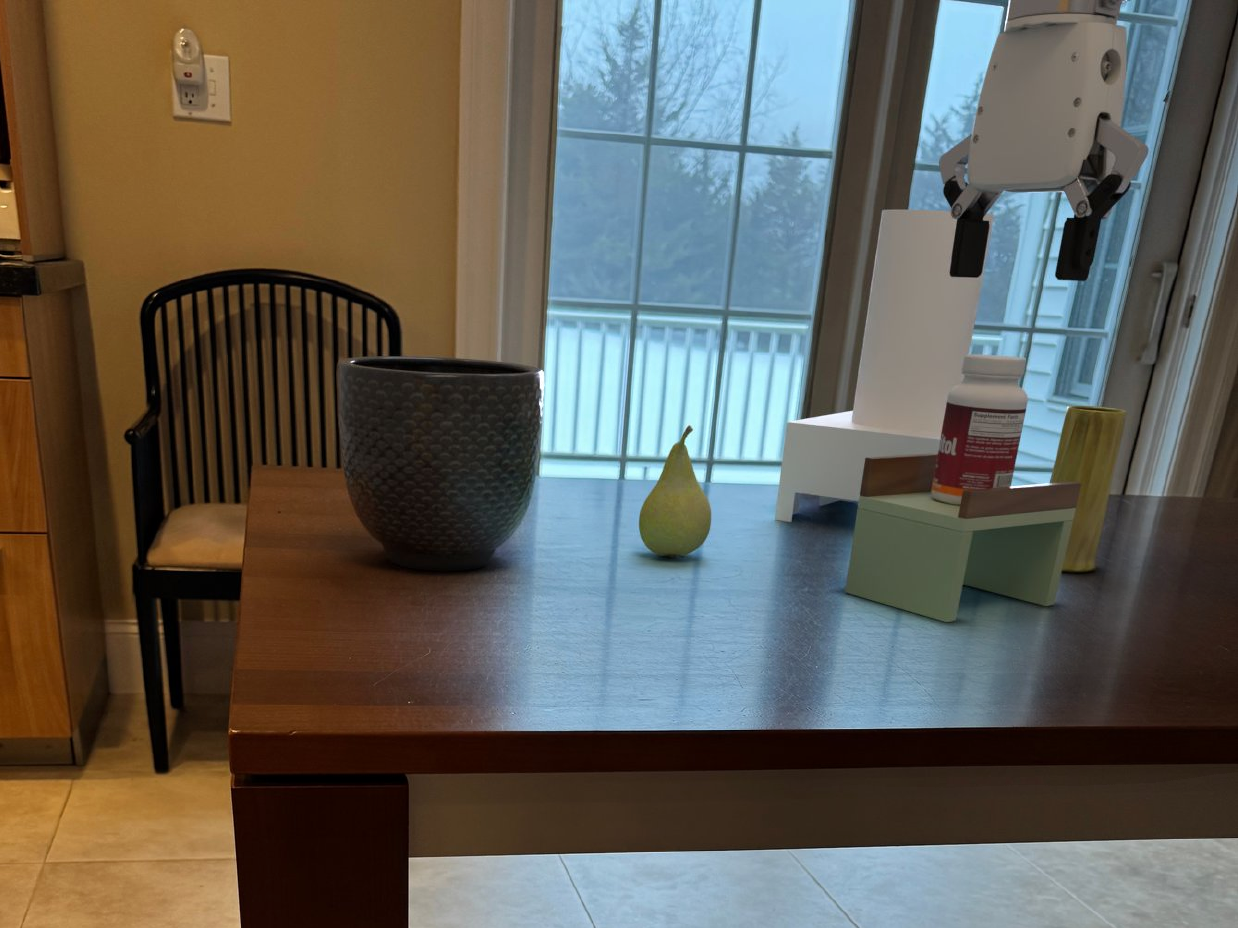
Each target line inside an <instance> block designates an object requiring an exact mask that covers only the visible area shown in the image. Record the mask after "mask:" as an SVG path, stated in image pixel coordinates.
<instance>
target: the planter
mask: <svg viewBox="0 0 1238 928" xmlns="http://www.w3.org/2000/svg"><path fill="white" fill-rule="evenodd" d="M336 395H337V396H336V398H337V399H336V400H337V401H336V403H337V422H338V433H339V445H340V453H341V461H342V467H343V468H342V469H343V475H344V480H345V481H344V482H345V485H346V490H347V494H348V497H349V500H350V503H351V505H352V508H353V510H354V513H355V515H356V517H357V518H358V520H359V522H360V523H361V526H363V527H364V529H365V530H366V532H368V534H369V535H370V536H371V537H372V538H373V539H374V540H376V541H377V542H378V543H380V545H381V546H382V547H383V550H384V552H385V555H386V556H387V558H388V559H389V561H390V562H392V563H393V564H395V565H398V566H401V567H404V568H407V569H413V570H419V571H428V572H462V571H463V572H464V571H472V570H476V569H480V568H483V567H485V566H487V565H488V564H490V563H491V561H492V559H493V557H494V555H495V552H496V550H497V549H498V548H499V547H501V546H502V545H503V544H505V543H506V542H507V541H508V540H509V539H510V538H511V537H512V536H513V535H514V534H515V532H516V531H517V530H518V529H519V527H520V526H521V525H522V522H523V520H524V518H525V517H526V514H527V511H528V509H529V506H530V503H531V500H532V496H533V492H534V488H535V485H536V478H537V471H538V464H539V459H540V450H541V442H542V441H541V440H542V431H543V421H544V419H543V418H544V401H545V399H544V398H545V373H544V371H543V369H541V368H540V367H536V366H532V365H527V364H519V363H513V362H506V361H505V362H504V361H495V360H485V359H484V360H483V359H473V358H459V357H458V358H456V357H438V356H437V357H436V356H406V355H405V356H404V355H403V356H401V355H395V356H394V355H391V356H389V355H387V356H386V355H384V356H383V355H382V356H381V355H380V356H358V357H357V356H356V357H349V358H348V357H347V358H342V359H339V360H338V362H337V364H336Z"/></svg>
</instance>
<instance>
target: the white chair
mask: <svg viewBox="0 0 1238 928" xmlns="http://www.w3.org/2000/svg"><path fill="white" fill-rule="evenodd" d="M994 219H995V214H991V213H986V215H985V216H984V217H983V220H984V221H989V225H990V227H989V233H988V239H987V245H986V251H985V258H984V264H983V270H982V274H981V275H980V276H979V277H978V278H968V277H951V276H950V266H951V256H952V250H953V243H954V237H955V230H956V224H957V219H953V218H952V216H951V210H933V209H882V211H881V217H880V224H879V230H878V237H877V245H876V251H875V259H874V265H873V271H872V278H871V286H870V292H869V299H868V306H867V313H866V320H865V327H864V332H863V339H862V347H861V353H860V361H859V367H858V374H857V381H856V388H855V395H854V401H853V409H852V410H849V411H844V412H836V413H830V414H825V415H820V416H814V417H808V418H803V419H796V420H790V421H786V426H785V432H784V433H785V434H784V441H783V442H784V443H783V449H782V457H781V466H780V473H779V482H778V490H777V499H776V507H775V508H776V509H775V515H774V520H775V521H781V522H788V523H792V520H793V519H792V518H793V515H795V514H798V513H800V508H801V507H800V506H801V499H802V494H803V495H804V494H806V495H811V496H818V497H819V498H818V505H817V506H818V507H821V506H824V505H828V504H830V503H834V502H838V501H845V502H852V503H856V502H859V496H860V490H861V483H862V476H863V470H864V463H865V458H866V457H882V456H899V455H917V454H934V453H938V450H939V445H940V439H941V432H942V427H943V421H944V415H945V410H946V403H947V398H948V394H949V392H950V390H951V389H952V388H953V387H954V386H956V385H957V384H960V383H961V382H962V381H963V379H964V374H962V367H963V362H964V357H965V355H967V354H970V351H971V345H972V340H973V334H974V329H975V323H976V318H977V312H978V307H979V301H980V296H981V291H982V285H983V279H984V273H985V268H986V262H987V257H988V253H989V251H988V250H989V246H990V240H991V235H992V229H993V224H994Z"/></svg>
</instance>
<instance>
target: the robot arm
mask: <svg viewBox="0 0 1238 928" xmlns="http://www.w3.org/2000/svg"><path fill="white" fill-rule="evenodd" d="M1129 1H1131V0H1008V6H1007V10H1006V18H1005V23H1004V29H1003V32H1002V33H999V34H997V37H996V40H995V43H994V46H993V49H992V52H991V54H990V59H989V62H988V65H987V67H986V72H985V75H984V79H983V82H982V86H981V90H980V95H979V99H978V102H977V107H976V112H975V117H974V121H973V126H972V132H971V133H970V134H969V135H967V137H966V138H964V139H963V140H961V141H959V142H958V143H957V144H956V145H954V146H953V147H952V148H950V149H949V150H947V151H946V152H945V153H943V154H942V155H941V156H940V158H939V161H938V167H939V171H940V176H941V180H942V184H943V189H942V193H943V196H944V198H945V201H946V202H947V203H948V205H949V207H950V211H951V216H952V218H953V219H957V224H956V230H955V237H954V243H953V250H952V256H951V266H950V276H951V277H968V278H978V277H979V276H980V275H981V274H982V270H983V264H984V258H985V251H986V245H987V239H988V233H989V227H990V225H989V221H984V220H983V217H984V216H985V215H986V214H988V212H989V211H990V209H991V208H992V207H993V206H994V205H995V203H996V202H997V201H998V199H999V198H1000V197H1001V195H1002V194H1003V192H1004V191H1005V192H1007V193H1013V194H1014V193H1015V194H1035V193H1038V194H1039V193H1064V194H1065V197H1066V198H1067V200H1068V201H1067V202H1068V203H1069V204H1070V207H1071V209H1072V211H1073V217H1066V220H1065V221H1064V224H1063V229H1062V235H1061V239H1060V245H1059V251H1058V256H1057V261H1056V265H1055V272H1054V276H1055V277H1054V278H1056V280H1057V281H1074V282H1086V281H1087V280H1088V278H1089V275H1090V270H1091V267H1092V264H1093V263H1094V259H1095V255H1096V249H1097V244H1098V239H1099V234H1100V230H1101V228H1100V227H1101V223H1102V220H1106V219H1107V218H1108V217H1109V216H1110V215H1111V213H1112V209H1113V207H1114V206H1116V204H1117V203H1118V202H1119V201H1120V200H1121V199H1122V198H1123V197H1124V196H1125V195H1126V194H1127V193H1128V192H1129V190H1130V188H1131V184H1132V180H1133V179H1135V177H1136V175H1137V174H1138V172H1139V171H1140V169H1141V167H1142V165H1143V164H1144V162H1145V160H1146V158H1147V157H1148V154H1149V152H1150V151H1149V146H1148V145H1147V144H1146V143H1144V142H1142V141H1141V140H1140V139H1139V138H1137V137H1136V136H1134V135H1133V134H1131V133H1129V132H1128V131H1127V130H1125V129H1124V128H1123V127H1121V126H1122V121H1123V111H1124V103H1125V102H1124V101H1125V93H1126V92H1125V91H1126V82H1127V81H1126V80H1127V60H1128V59H1127V58H1128V46H1127V44H1128V43H1127V42H1128V41H1127V40H1128V39H1127V27H1126V26H1124V25H1120V24H1117V23H1118V19H1119V17H1120V12H1121V6H1122V4H1123V3H1125V2H1129ZM966 166H967V168H966ZM965 168H966V174H965ZM965 177H967V181H966V180H965V179H966V178H965Z"/></svg>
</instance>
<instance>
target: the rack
mask: <svg viewBox="0 0 1238 928" xmlns="http://www.w3.org/2000/svg"><path fill="white" fill-rule="evenodd" d="M937 456H938V453H934V454H917V455H899V456H882V457H866V458H865V463H864V470H863V476H862V483H861V490H860V496H859V501H858V504H857V509H856V517H855V524H854V530H853V535H852V543H851V549H850V557H849V563H848V569H847V576H846V582H845V589H844V593H846V594H849V595H853V596H856V597H860V598H863V599H866V600H870V601H873V602H876V603H879V604H883V605H886V606H889V607H892V608H897V609H900V610H903V611H907V612H909V613H912V614H913V613H914V614H917V615H920V616H924V617H925V618H926V617H927V618H930V619H934V620H937V621H941V622H944V623H951V622H955V621H956V620H957V616H958V610H959V606H960V600H961V595H962V590H963V585H965V586H968V587H971V588H975V589H979V590H983V591H986V592H990V593H994V594H998V595H1001V596H1006V597H1009V598H1013V599H1016V600H1019V601H1024V602H1028V603H1032V604H1035V605H1039V606H1043V607H1049V606H1054V605H1055V602H1056V598H1057V593H1058V589H1059V585H1060V582H1061V581H1060V580H1061V576H1062V573H1063V572H1062V567H1063V563H1064V559H1065V554H1066V550H1067V545H1068V541H1069V537H1070V532H1071V528H1072V524H1073V519H1074V514H1075V510H1076V506H1077V501H1078V497H1079V493H1080V488H1081V484H1082V483H1081V482H1075V481H1071V482H1059V483H1050V482H1048V483H1035V484H1025V485H1024V484H1023V485H1011V486H1010V487H998V488H986V489H973V490H963V493H962V498H961V504H960V505H953V504H949V503H945V502H941V501H938V500H936V499H934V498H933V496H932V493H931V491H932V484H933V478H934V473H935V467H936V462H937Z"/></svg>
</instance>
